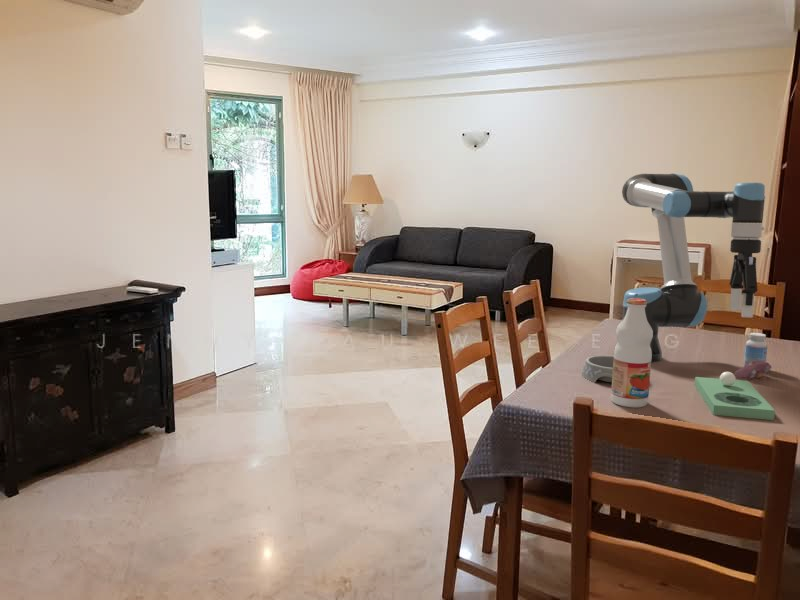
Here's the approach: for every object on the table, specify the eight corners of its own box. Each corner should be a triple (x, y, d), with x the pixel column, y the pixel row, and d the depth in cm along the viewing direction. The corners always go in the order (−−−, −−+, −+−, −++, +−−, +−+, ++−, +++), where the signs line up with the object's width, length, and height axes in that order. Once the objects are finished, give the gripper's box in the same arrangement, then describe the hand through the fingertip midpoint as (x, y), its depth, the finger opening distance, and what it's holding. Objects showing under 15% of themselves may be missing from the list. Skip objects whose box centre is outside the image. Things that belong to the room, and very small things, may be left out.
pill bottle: (767, 371, 207) (771, 337, 205) (746, 370, 208) (750, 335, 206) (761, 366, 213) (765, 332, 211) (740, 365, 214) (744, 331, 212)
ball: (720, 387, 182) (722, 373, 181) (717, 383, 186) (718, 369, 185) (736, 388, 181) (737, 374, 180) (732, 384, 185) (734, 370, 184)
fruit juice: (620, 394, 182) (628, 295, 177) (653, 402, 176) (662, 299, 171) (604, 402, 176) (611, 299, 171) (637, 410, 169) (646, 304, 164)
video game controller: (742, 385, 198) (754, 367, 194) (731, 375, 201) (742, 357, 197) (765, 381, 202) (777, 364, 198) (754, 371, 205) (765, 354, 201)
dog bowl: (588, 367, 210) (589, 351, 209) (648, 376, 202) (650, 359, 201) (574, 381, 195) (576, 363, 194) (639, 391, 187) (641, 372, 186)
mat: (694, 385, 192) (695, 376, 191) (746, 389, 189) (747, 380, 188) (713, 414, 167) (714, 405, 167) (774, 420, 164) (775, 410, 163)
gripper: (774, 240, 171) (768, 320, 173) (749, 237, 195) (744, 308, 197) (742, 239, 173) (736, 319, 175) (721, 237, 197) (717, 307, 199)
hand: (740, 314), depth 186 cm, fingers open, 13 cm apart
